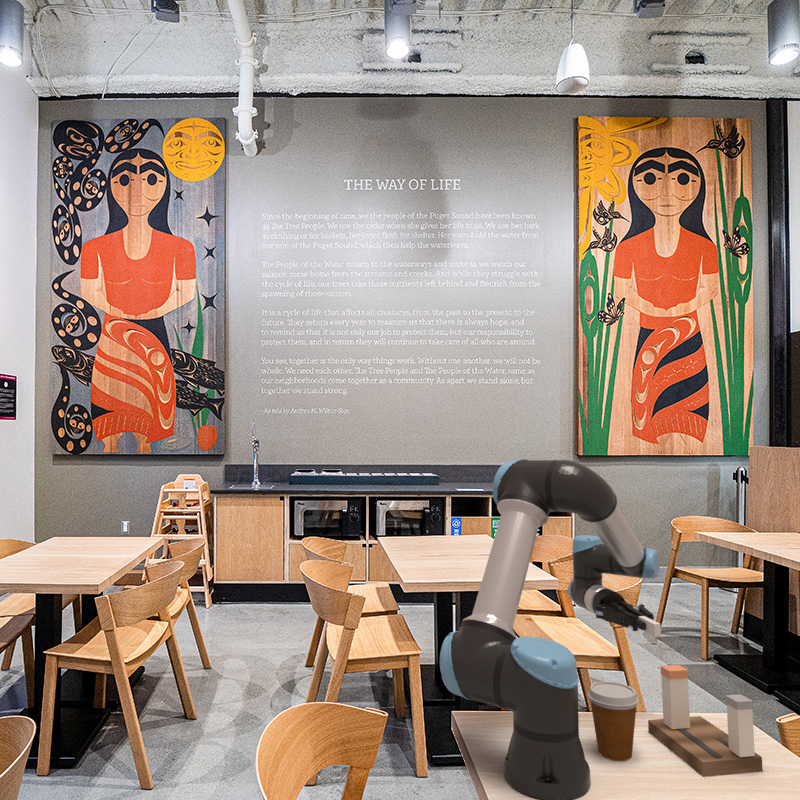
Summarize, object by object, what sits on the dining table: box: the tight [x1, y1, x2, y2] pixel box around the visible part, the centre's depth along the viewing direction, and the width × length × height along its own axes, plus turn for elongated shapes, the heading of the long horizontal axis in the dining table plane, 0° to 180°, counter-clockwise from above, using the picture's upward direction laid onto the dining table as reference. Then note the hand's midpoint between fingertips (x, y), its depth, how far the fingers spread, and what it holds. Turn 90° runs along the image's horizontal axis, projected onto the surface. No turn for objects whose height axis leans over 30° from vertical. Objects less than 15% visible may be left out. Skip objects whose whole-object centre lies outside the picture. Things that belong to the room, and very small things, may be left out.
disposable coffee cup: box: [587, 681, 639, 762], centre depth 121 cm, size 10×10×12 cm
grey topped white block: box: [725, 694, 756, 757], centre depth 115 cm, size 3×3×10 cm
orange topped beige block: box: [660, 664, 691, 729], centre depth 126 cm, size 3×4×11 cm
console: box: [647, 715, 764, 777], centre depth 121 cm, size 18×12×4 cm, turn 9°
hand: (657, 630), depth 133 cm, fingers closed
